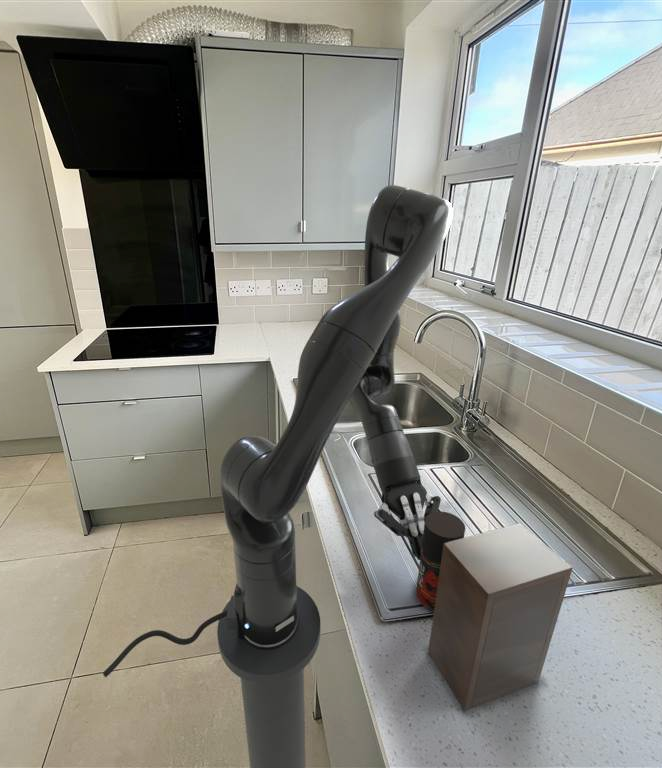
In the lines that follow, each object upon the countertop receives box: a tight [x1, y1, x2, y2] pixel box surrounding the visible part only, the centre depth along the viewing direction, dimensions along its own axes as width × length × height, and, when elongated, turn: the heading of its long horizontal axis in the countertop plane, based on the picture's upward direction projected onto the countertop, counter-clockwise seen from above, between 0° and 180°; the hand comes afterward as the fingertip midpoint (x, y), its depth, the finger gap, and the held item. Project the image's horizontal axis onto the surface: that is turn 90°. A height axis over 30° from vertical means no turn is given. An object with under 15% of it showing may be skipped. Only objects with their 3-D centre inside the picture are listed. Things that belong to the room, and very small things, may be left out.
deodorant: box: [415, 510, 466, 612], centre depth 65 cm, size 6×6×15 cm
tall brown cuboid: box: [427, 522, 573, 712], centre depth 53 cm, size 8×12×20 cm
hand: (424, 558), depth 69 cm, fingers closed
